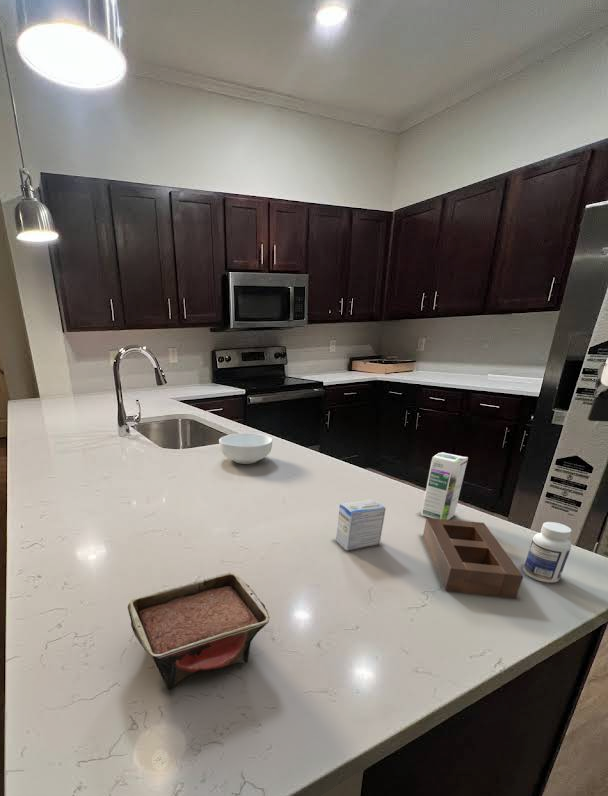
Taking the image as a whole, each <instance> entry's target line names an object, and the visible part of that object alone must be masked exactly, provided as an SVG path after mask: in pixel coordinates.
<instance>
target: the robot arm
mask: <svg viewBox="0 0 608 796" xmlns="http://www.w3.org/2000/svg"><path fill="white" fill-rule="evenodd" d="M595 386H596V389H595V390H594V392H593V395H594V398H593V402H592V404H591V408H590V409H589V413H588V415H587V420H588V421H590V422H608V357H607V358H606V361H605V364H603V365H601V366H599V367H598V369H597V379H596V382H595Z"/></svg>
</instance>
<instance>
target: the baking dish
mask: <svg viewBox="0 0 608 796" xmlns="http://www.w3.org/2000/svg"><path fill="white" fill-rule="evenodd" d="M127 611H128V615H129V618H130V626H131V629H132V631H133V634H134V636H135V638H136V639H137V640H138V642H139V644H140V645H141V646H142V648H143V650H144V651H145V652H146V653H147V654H148V655H150V656H151V657H152V659H153V661H154V664H155V665H156V668H157V669H158V671H159V673H160V675H161V678H162V680H163V682H164V684H165V686H166V688H167V690H169V691H171V690H172V688H173V687H175V686H176V685H177V684H178V683H179V682H180V681H182V680H183V679H185V678H187V677H189V676H190V675H192V674H194V673H196V672H197V671H211V670H218V669H220V668H223V667H227V666H230V665H232V664H237V663H242V664H243V663H244V664H248V660H249V656H250V655H249V654H250V650H251V643H252V641H253V639H254V638H255V637H256V635H257V634H258V633H259V632H260V631H262V629H263V628H264V627H265V626H266V625H268V624H269V622H270V616H269V611H268V609H267V608H266V606H265V604H264V602H262V601H261V600H260V598H259V597H258V595H257V593H255V592H254V590H253V589H252V588H250V585H248V584H247V583H246V582H245V581H244V580H243V579H242V578H241V577H239V576H238V575H237V574H235V573H234V572H227V573H221V574H218V575H215V576H212V577H209V578H208V577H207V578H204V579H202V580H197V581H194V582H189V583H186V584H184V585H179V586H176V587H172V588H168V589H165V590H162V591H157V592H153V593H150V594H146V595H143V596H138V597H136V598H133V599H132V600H131V601H130V602H129V603H128V605H127Z"/></svg>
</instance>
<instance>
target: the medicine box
mask: <svg viewBox="0 0 608 796" xmlns="http://www.w3.org/2000/svg"><path fill="white" fill-rule="evenodd" d="M386 510H387V509H386V507H385V506H384V505H382V504H381V503H380V502H378V501H377V500H375V499H373V498H370V499H364V500H357V501H351V502H346V503H345V502H344V503H340V504H339V507H338V516H337V524H336V525H337V526H336V533H335V541H336V543H338V545H340V546H341V547H342V548H343V549H344V550H345V551H353V550H358V549H361V548H367V547H372V546H377V545H380V544H381V538H382V532H383V527H384V522H385V521H384V520H385V515H386Z"/></svg>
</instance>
